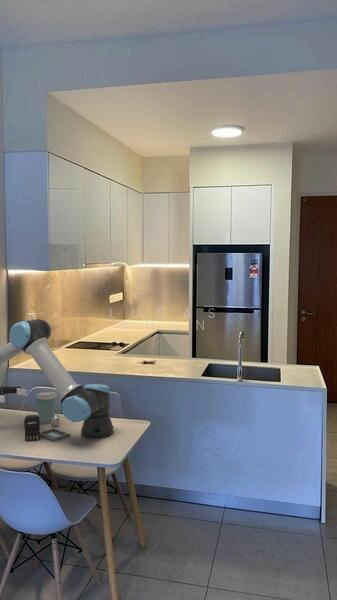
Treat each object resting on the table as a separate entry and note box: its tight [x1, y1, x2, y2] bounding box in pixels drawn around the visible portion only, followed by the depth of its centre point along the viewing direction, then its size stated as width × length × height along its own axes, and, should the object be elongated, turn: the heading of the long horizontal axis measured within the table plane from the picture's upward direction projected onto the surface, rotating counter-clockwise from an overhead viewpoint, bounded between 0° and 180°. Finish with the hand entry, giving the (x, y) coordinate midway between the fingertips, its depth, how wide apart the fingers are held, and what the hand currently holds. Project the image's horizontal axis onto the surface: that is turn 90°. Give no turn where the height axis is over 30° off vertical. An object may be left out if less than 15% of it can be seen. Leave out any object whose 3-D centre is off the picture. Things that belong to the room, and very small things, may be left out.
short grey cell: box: [51, 413, 61, 428], centre depth 238 cm, size 4×4×6 cm
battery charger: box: [23, 413, 41, 442], centre depth 218 cm, size 7×4×11 cm, turn 100°
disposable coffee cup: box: [35, 391, 58, 424], centre depth 245 cm, size 11×11×15 cm
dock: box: [40, 427, 71, 443], centre depth 223 cm, size 12×9×2 cm
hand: (15, 396), depth 223 cm, fingers open, 13 cm apart
